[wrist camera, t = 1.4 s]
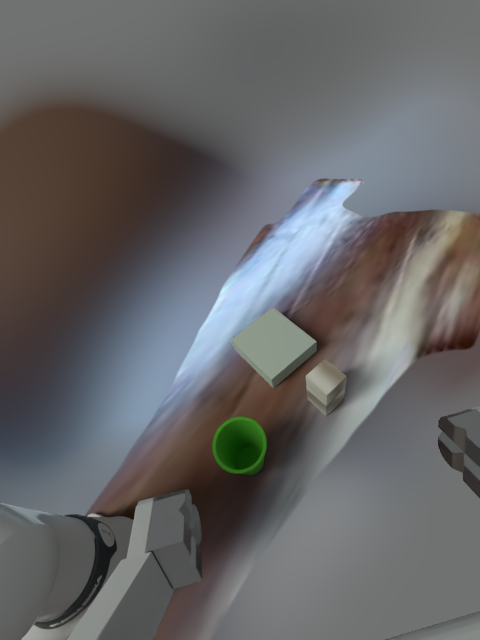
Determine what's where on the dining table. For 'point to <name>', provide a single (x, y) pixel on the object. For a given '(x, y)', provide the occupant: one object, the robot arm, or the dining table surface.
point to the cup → (240, 446)
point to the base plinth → (274, 346)
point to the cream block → (325, 387)
